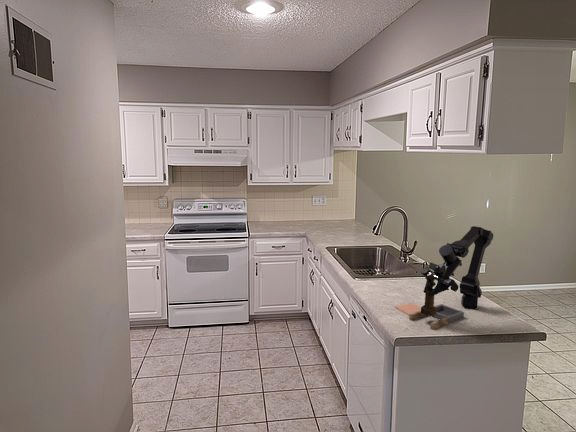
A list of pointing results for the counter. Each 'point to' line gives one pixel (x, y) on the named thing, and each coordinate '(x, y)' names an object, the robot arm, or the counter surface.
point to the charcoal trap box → (447, 313)
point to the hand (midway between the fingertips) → (427, 294)
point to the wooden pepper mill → (429, 299)
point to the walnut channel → (433, 324)
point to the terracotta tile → (408, 308)
